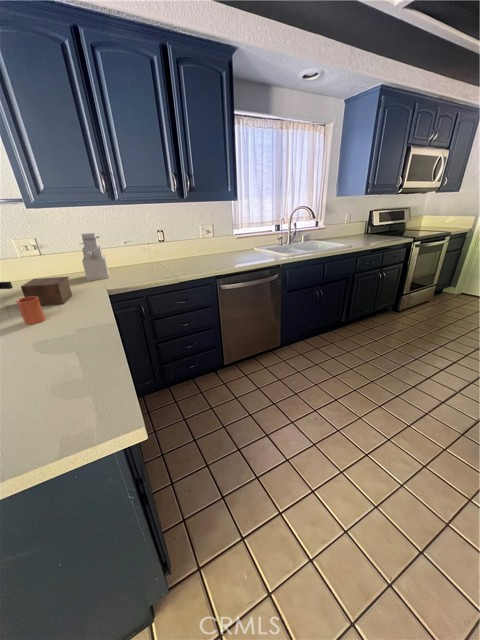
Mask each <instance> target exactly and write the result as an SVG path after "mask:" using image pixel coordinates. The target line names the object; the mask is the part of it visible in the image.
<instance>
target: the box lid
mask: <svg viewBox="0 0 480 640" xmlns="http://www.w3.org/2000/svg"><path fill="white" fill-rule="evenodd" d="M69 278H70V277H69V276H57V277H40V278H32V279H31V280H29V281H27V282H26V283H23V284H22V285H21V286H20V289H21V288H29V287H43V286H57V285H61V284H62V283H63V282H64V281H66V280H67V279H68V280H69Z"/></svg>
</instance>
